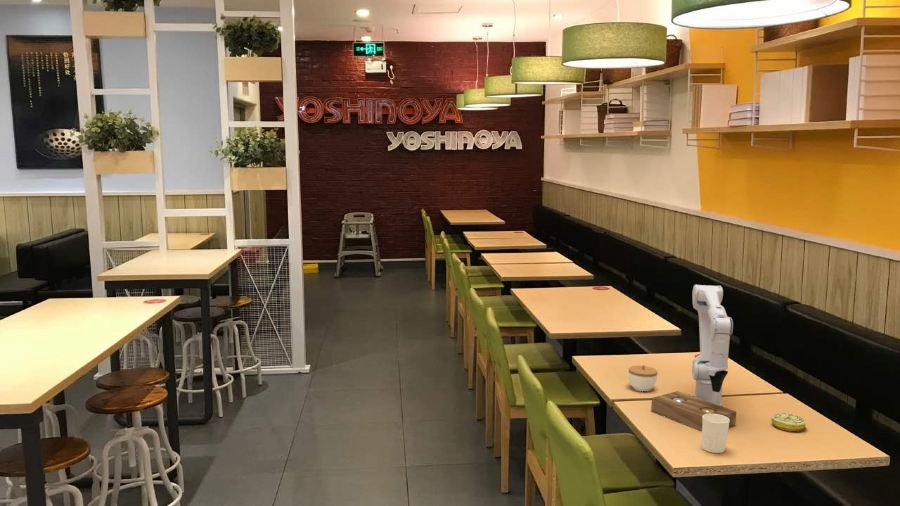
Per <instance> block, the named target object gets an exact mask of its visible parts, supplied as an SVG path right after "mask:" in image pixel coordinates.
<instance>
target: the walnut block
mask: <svg viewBox="0 0 900 506" xmlns="http://www.w3.org/2000/svg"><path fill="white" fill-rule="evenodd" d="M673 398H683V399H684V400H685V401H684V402H678V401H675V400H673ZM650 408H651V410H650V412H652V413H654V414H657V415H659V416H662V417H664V416H665V418H667V419H669V418H670V419H669V420H672V421H674V420H675V422H678V423H680V424H682V425H685V426H688V427H690V428H693V429H695V430H697V431H700V432H702V416H703V415H705V414H719V415H723V416H725V417H727V418H729V420H730V421H729V428H728V429H730V428H732V427H733V428H734V427H735V426H736V422H737V411H736V410H732V409H730V408H728V407H725V406H719V405H716V404H713V403H711V402H708V401H705V400H702V399H699V398H696V397H695V395H694V396H693V395H690V394H688V393H685V392H682V391H679V390H676V391H673V392H668V393H665V394H661V395H657V396H653V397H651V407H650ZM703 408H710V409H713V410H714V412H713V413H708V412H705V411H702V409H703Z"/></svg>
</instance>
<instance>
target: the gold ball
mask: <svg viewBox="0 0 900 506" xmlns="http://www.w3.org/2000/svg"><path fill="white" fill-rule="evenodd" d="M702 411H705V412H708V413H713V412H714V410H713V409H710V408H703V409H702Z"/></svg>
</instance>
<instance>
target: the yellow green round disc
mask: <svg viewBox="0 0 900 506" xmlns="http://www.w3.org/2000/svg"><path fill="white" fill-rule="evenodd" d="M770 420H771V423H772V425H773V426H774V427H775V428H776V429H778V430H781V431H784V430H785V431H784V432H789V431H797V432H802V431H803V430H804V429H805V427H806V426H807V423H806V420H804V419H803V418H802V417H801V416H798V415H796V414H793V413H789V412H788V413H785V412H783V413H781V412H779V413H775V414H773V415H771V419H770Z"/></svg>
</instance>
